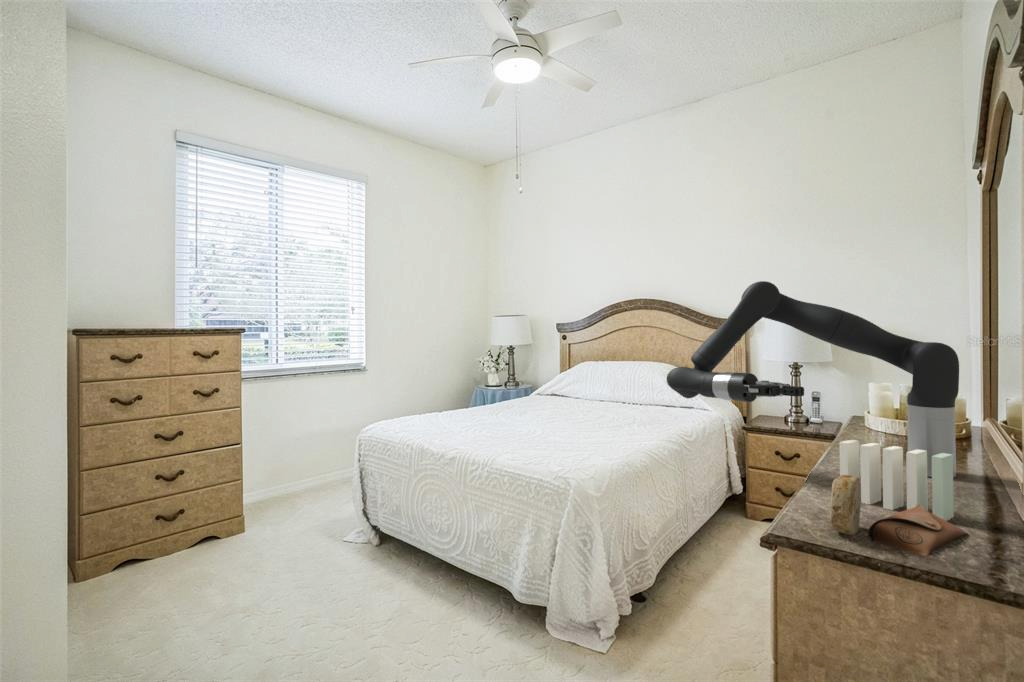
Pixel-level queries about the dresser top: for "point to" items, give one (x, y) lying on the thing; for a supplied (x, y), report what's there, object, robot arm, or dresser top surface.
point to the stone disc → (845, 504)
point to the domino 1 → (849, 458)
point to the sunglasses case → (914, 531)
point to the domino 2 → (870, 473)
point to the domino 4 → (917, 479)
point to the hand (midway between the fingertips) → (801, 391)
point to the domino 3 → (893, 477)
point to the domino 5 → (942, 486)
